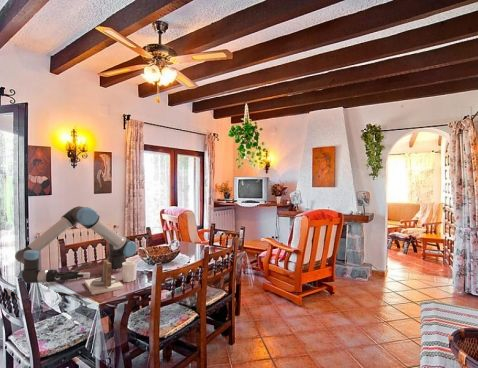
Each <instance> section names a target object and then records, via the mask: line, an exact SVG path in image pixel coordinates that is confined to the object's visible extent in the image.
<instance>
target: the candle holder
mask: <svg viewBox="0 0 478 368" xmlns="http://www.w3.org/2000/svg"><path fill="white" fill-rule="evenodd" d="M137 266H138V261H134V260H129V261H127V260H126V262H123V263H122V268H121V269H122V270H121V271H122V281H123V282H124V283H132V282H131V281H133V282H134V280H135V281H136V279H137V272H138V271H137V269H138V267H137Z"/></svg>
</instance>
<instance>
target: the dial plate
mask: <svg viewBox="0 0 478 368" xmlns="http://www.w3.org/2000/svg"><path fill="white" fill-rule="evenodd" d="M99 278H100V277H97V278H92V279H85V280H84V284H85V286H86V288H87V289H88V291H89V292H90V293H91V295H98V294H104V293H108V292H109V293H110V292H113V291H119V290H123V289H124V284H123V283H122V282H121V281H120V280H119V279H118V278H117V277H115V275H111V278H115V283H113V284H111V286H110V287H107V286H94V285H92V281H93V280H95V279H99Z"/></svg>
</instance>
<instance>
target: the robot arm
mask: <svg viewBox="0 0 478 368" xmlns="http://www.w3.org/2000/svg"><path fill="white" fill-rule="evenodd" d="M76 224H80V225H81V226H83V228H85V229H87V230H92V231H93V232H94V233H96V234H97V235H98V236H100V237H101V238H103V239H104V240H105V241H106V242H108V257H107V261H109V262H110V263H111V269H122V268H121V267H122V263H123V262H127V259H126V258H127V257H128V258H129V257H132V256H134V255H135V254H136V252H137V248H138V247H137V243H136V242H134V241H133V240H130V239H129V238H127V237H126V236H124V235H123V236H121V235H120V234H118V232H117V231H115V230H114V229H112V228H111V227H110V226H109V225H107V223H105V222H104V221H102V220H101V216H100V215H99V214H98V213H97V211H96V210H95V209H94V208H92V207H89V206H87V207H86V206H80V205H79V206H76V207H73V208H71V209H70V210H68V211H67V212H66V213H64V214H63V215H62V216H61V217H60V220H57V222H55V223H54V224H53V225H52V226H50V227H49V228H48V229H47V230H46V231H44V232H43V233H41V235H39V236H38V237H37V238H36V239H35V240H33V241H32V242H30V243H29V244H28V245H27V246H26V247H24V248H23V249H19V250H17V251H16V252H15V254H14V259H15V260H16V261H17V262H19V263H21V264H23V270H20V271H19V272H18V276H17V278H18V277H21V278H22V280H23V281H24V282H25V283H24V284H37V283H38V284H39V283H42V284H44V283H45V284H46V283H56V282H61V281H68V280H72V279H75V278H76V280H75V281H77V278H80V279H89V278H90V277H91V272H80V270H79V271H78V272H74V271H73V270H64V271H58V270H57V269H39V267H40V252H41V251H42V250H43V249H44V248H45V247H47V246H48V245H49V244H50V243H52V242H53V241H54V240H55V239H56V238H58V237H59V236H60V235H61V234H63V233H64V232H65V231H66V230H67V229H69V228H72V227H73V226H74V225H76ZM79 272H80V273H79ZM72 281H73V280H72Z"/></svg>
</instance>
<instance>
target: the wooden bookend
mask: <svg viewBox="0 0 478 368" xmlns="http://www.w3.org/2000/svg"><path fill="white" fill-rule="evenodd" d="M111 276H112V268H111V263H110V262H109V261H108V259H102V275H101V276H100V277H98V278H99V279H96V278H94V279H95V280H93V281H92V285H94V286H107V287H110V286H111V284H113V283H115V278H116V277H115V278H111Z"/></svg>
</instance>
